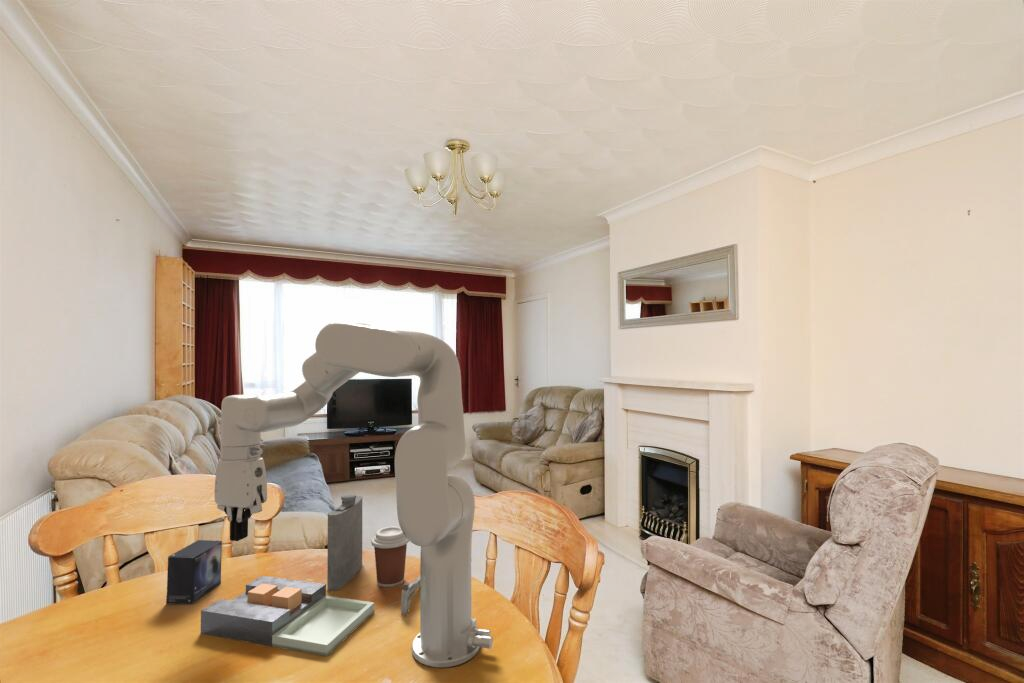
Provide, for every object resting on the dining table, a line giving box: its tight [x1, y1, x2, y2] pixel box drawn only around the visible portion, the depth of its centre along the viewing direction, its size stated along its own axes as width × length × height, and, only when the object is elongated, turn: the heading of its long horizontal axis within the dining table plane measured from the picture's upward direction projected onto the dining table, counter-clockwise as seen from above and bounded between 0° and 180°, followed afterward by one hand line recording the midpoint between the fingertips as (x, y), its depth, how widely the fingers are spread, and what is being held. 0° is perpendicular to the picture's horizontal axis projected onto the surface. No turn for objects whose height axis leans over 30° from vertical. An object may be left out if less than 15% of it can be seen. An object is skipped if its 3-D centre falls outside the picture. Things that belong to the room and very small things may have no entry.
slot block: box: [200, 575, 327, 647], centre depth 102 cm, size 17×16×4 cm
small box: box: [165, 539, 223, 605], centre depth 114 cm, size 11×6×10 cm, turn 179°
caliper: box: [400, 575, 420, 616], centre depth 113 cm, size 20×1×6 cm, turn 176°
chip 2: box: [272, 587, 302, 611], centre depth 101 cm, size 4×4×3 cm
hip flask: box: [326, 493, 363, 592], centre depth 122 cm, size 16×4×20 cm, turn 175°
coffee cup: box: [370, 526, 410, 588], centre depth 119 cm, size 9×9×12 cm
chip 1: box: [247, 583, 278, 606], centre depth 103 cm, size 4×4×3 cm
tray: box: [271, 595, 375, 657], centre depth 98 cm, size 12×16×2 cm
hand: (238, 538), depth 105 cm, fingers closed
